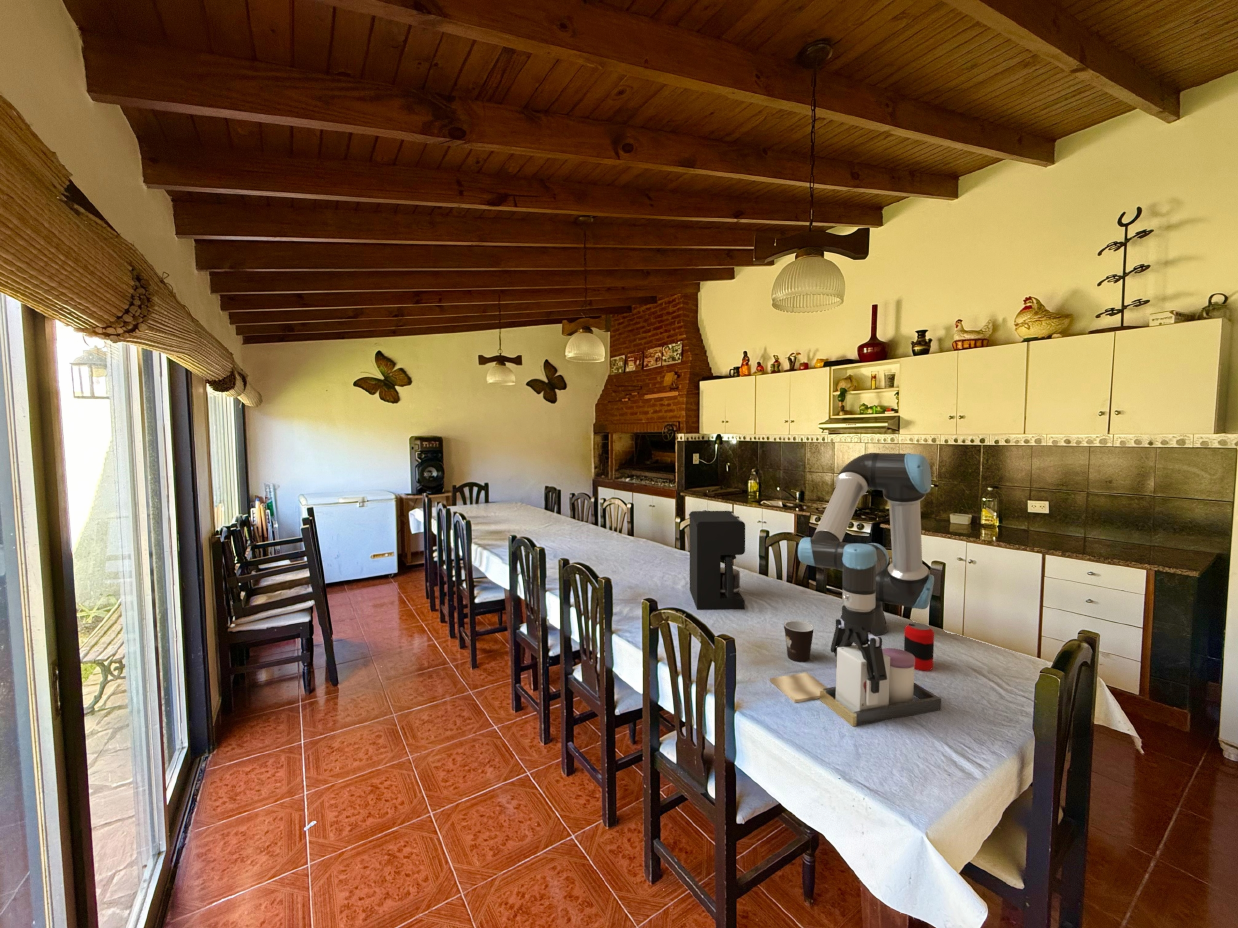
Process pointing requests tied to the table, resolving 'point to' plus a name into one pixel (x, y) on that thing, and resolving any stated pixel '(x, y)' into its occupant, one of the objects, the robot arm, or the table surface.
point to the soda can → (920, 645)
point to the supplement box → (857, 680)
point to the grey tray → (889, 712)
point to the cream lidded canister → (900, 675)
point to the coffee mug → (798, 640)
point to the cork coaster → (799, 686)
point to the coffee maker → (715, 559)
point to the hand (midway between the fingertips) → (856, 692)
